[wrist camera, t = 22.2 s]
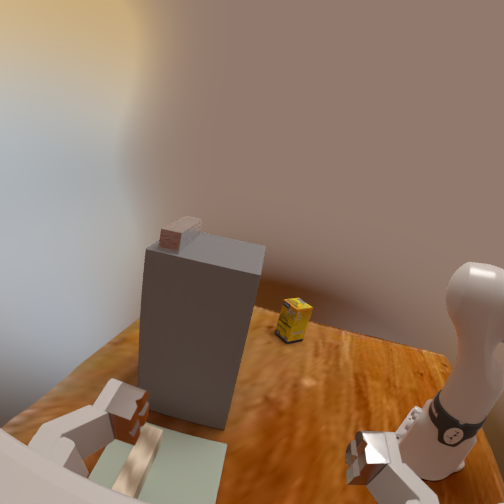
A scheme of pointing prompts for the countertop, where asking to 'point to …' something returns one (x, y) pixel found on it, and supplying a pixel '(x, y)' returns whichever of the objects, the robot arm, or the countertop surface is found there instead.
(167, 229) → the pale wood bar
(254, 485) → the countertop surface
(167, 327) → the charcoal stand
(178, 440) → the sage mat
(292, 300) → the supplement box
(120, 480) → the long maple bar
